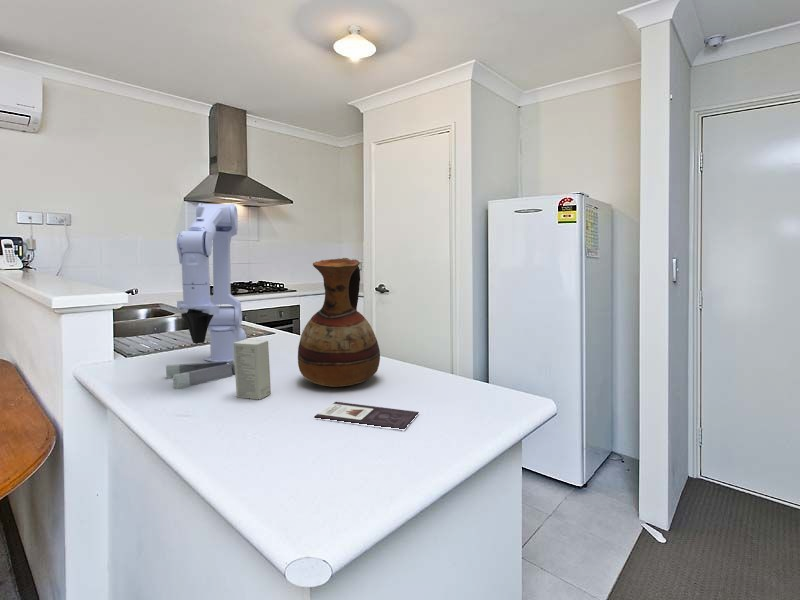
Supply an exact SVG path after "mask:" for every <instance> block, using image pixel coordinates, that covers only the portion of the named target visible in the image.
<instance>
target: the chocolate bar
mask: <svg viewBox="0 0 800 600" xmlns="http://www.w3.org/2000/svg"><path fill="white" fill-rule="evenodd" d="M418 413H419V414H420V412H419V411H414V410H405V409H399V408H389V407H382V406H373V405H366V404H357V403H350V402H342V401H335V402H333V403H331V404H330V405H329V406H327V407H326V408H324V409H323V410H321V411H320V412H318V413H317V414H316V415H314V417H313V419H314V418H321V419H330V420H337V421H344V422H351V423H359V424H367V425H374V426H381V427H391V428H399V429H405V428H406V427H407V425H408V424H409V423H410V422H411V421H412V420H413V419H414V418H415V416H416V415H417V414H418ZM415 419H416V418H415Z"/></svg>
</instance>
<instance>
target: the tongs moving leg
mask: <svg viewBox="0 0 800 600" xmlns="http://www.w3.org/2000/svg"><path fill="white" fill-rule="evenodd" d="M229 377H233V375H232V364H229V363H228V362H227V364H224V365H219V366H214V367H209V368H204V369H200V370H195V371H190V372H185V373H180V374H175V375H173V378H172V380H173V388H174V389H175V390H179V389H183V388H186V387H190V386H195V385H200V384H204V383H207V382H212V381H216V380H220V379H221V380H222V379H224V378H229Z"/></svg>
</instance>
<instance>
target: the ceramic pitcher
mask: <svg viewBox="0 0 800 600" xmlns="http://www.w3.org/2000/svg"><path fill="white" fill-rule="evenodd" d="M360 263H361V262H360V261H359V260H357V259H354V258H352V259H350V258H347V257H342V258H330V259H321V260H319V261H315V262H312V266H313V267H314V268H315V269H316V270H317V271H318V272H319V273H320V274H321V276H322V279H323V288H324V301H323V305H322V307H321V308H320V309H319V310H318V311H317V312H316V313H314V314H313V315H312V316H311V318H310V319H309V320H308V322H307V323H306V325H305V326H304V329H303V330H302V333H301V335H300V338H299V343H298V347H297V348H298V349H297V364H298V365H297V366H298V369H299V372H300V375H302V376H303V377H304V378H305V379H306V380H308V381H309V382H311V383H313V384H316V385H319V386H327V387H334V388H337V387H344V386H345V387H347V386H352V385H356V384H360V383H363V382H365V381H367V380H369V379H370V378H372V377H373V376H374V375H375V374H377V372H378V369H379V366H380V362H381V352H380V347H379V343H378V340H377V337H376V334H375V332H374V330H373V328H372V326H371V324H370V322H369V321H368V320H367V319H366V317H365V316H364V315H363V314H362V313H360V312H359V311H358V309H357V308H358V302H359V295H360V287H361V286H360V285H361V269H360V266H359V265H360Z"/></svg>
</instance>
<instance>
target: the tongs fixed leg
mask: <svg viewBox="0 0 800 600" xmlns="http://www.w3.org/2000/svg"><path fill="white" fill-rule="evenodd" d="M228 363H229V364H232V376H235V360H232V361H229V362H227V361H218V362H211V361H206V362H192V363H177V364H166V365H165V371H166V373H165V376H166V379H173V375H175V374H180V373H185V372H190V371H195V370H200V369H204V368H209V367H214V366H219V365H224V364H228Z"/></svg>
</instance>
